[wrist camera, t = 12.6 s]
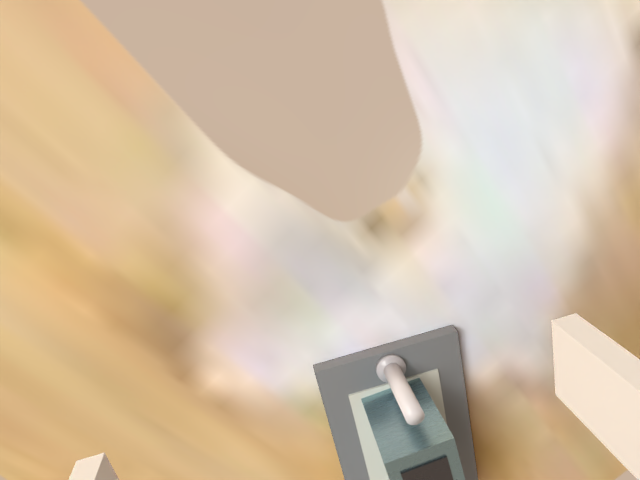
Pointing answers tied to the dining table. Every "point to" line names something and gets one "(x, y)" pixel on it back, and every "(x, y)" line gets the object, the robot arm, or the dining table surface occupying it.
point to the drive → (413, 438)
